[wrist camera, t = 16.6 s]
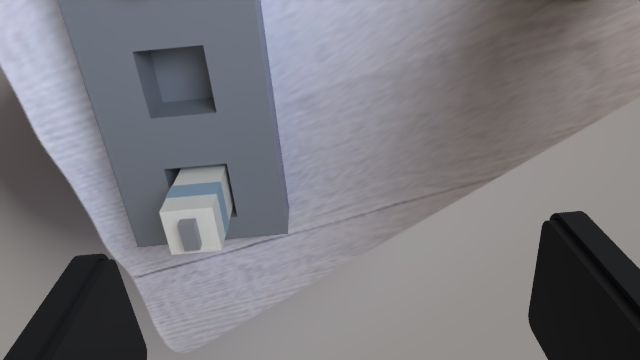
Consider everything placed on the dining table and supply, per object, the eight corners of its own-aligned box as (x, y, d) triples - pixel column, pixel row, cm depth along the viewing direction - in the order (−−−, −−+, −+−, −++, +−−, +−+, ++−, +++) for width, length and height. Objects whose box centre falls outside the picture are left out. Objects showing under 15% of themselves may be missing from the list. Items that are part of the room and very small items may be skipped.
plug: (230, 151, 45) (210, 212, 35) (237, 189, 47) (220, 257, 37) (186, 155, 45) (155, 217, 35) (196, 193, 47) (168, 262, 37)
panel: (244, -116, 35) (236, -121, 31) (288, 208, 49) (287, 233, 45) (56, -97, 36) (25, -100, 32) (151, 220, 49) (138, 246, 45)
